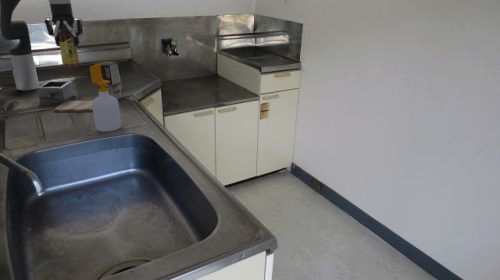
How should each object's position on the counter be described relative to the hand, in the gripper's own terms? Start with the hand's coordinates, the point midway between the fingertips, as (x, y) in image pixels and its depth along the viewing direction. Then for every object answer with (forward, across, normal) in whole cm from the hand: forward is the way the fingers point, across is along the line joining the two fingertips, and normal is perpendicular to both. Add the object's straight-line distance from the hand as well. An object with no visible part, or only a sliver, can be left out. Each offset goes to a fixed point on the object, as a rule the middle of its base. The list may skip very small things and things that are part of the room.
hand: (68, 45), depth 155 cm
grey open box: (+26, +14, -10) cm, 31 cm away
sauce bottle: (+9, 0, 0) cm, 9 cm away
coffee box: (+26, -10, -14) cm, 32 cm away
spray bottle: (+26, -20, +25) cm, 42 cm away
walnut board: (+26, 0, 0) cm, 26 cm away
